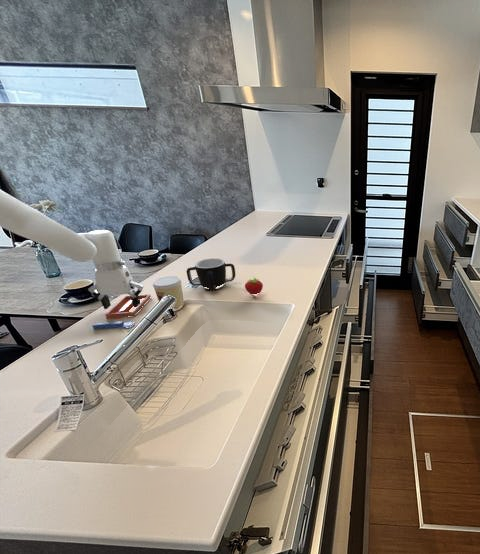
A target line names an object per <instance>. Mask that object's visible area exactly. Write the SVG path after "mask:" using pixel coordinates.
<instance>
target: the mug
mask: <svg viewBox="0 0 480 554" xmlns="http://www.w3.org/2000/svg"><path fill="white" fill-rule="evenodd" d="M228 267H230V268H231V277H230V278H227V269H226V268H228ZM191 271H195V273H196V276H197V278H198V281H197V282H196V281H195V280H193V278H192V274H191V273H192V272H191ZM186 276H187V280H188V282H189V283H190V284H191V285H192V286H196V287H197V286H201V287H202V286H203V287H207V288H209V289H210V290H209V291H215V290H214V289H215V288H216V287H217V286H220V285H222V284H224V283H225V284H226V283H229V281H230V282H233V281H234V280H235V278H236V267H235V265H234V264H233V263H226V261H225V260H224V259H222V258H205V259H202V260H199V261H197V262H195V264H194V266H192V267H188V268H187V269H186ZM203 287H202V288H203Z"/></svg>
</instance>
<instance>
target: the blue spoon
mask: <svg viewBox="0 0 480 554" xmlns="http://www.w3.org/2000/svg"><path fill="white" fill-rule="evenodd" d="M133 324H135V321H126V322H124V321H123V320H122V321H121V320H119V321H107V322H94V323H93V324H92V325H91V326H92V329H93V330H95V331H97V330H108V329H119V328H118V327H122V329H123V328H126V327H130V326H132V325H133Z"/></svg>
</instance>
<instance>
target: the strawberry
mask: <svg viewBox="0 0 480 554" xmlns="http://www.w3.org/2000/svg"><path fill="white" fill-rule="evenodd" d="M244 288H245V291H246V292H247V293H248V294H249V295H251V294H257V293H259V294H260V293H261V292H262V290H263V288H264V285H263V282H262V281H261V280H259V279H258V278H257V277H253V279H248V280H247V281H246V282H245V284H244Z"/></svg>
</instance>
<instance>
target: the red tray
mask: <svg viewBox="0 0 480 554" xmlns="http://www.w3.org/2000/svg"><path fill="white" fill-rule="evenodd" d="M138 296H139V299H142V298H145V299H144V300H143V301H142V302H141V303H140V304H139V305H138V306H137V308H136V309H135V310H134V311H133V312H129V311H128V312H124V313H119V310H120V309H121V308H122V307H123V306H124V305H126V304H127V303H128V302H129V301H130V300H132V299H131V298H132V296H130V295H125V296H123V297H122V298H121V299H120V300H119V301H117V303H115V305H114V306H112V308H110V309H109V310H108V311H107V312H106V313H105V314H104V316H105V318H106V319H107V320H113V319H122V318H121V317H127V318H129V317H128V316H135V314H136V313H137V312H138V311H139V310H140V309H141V308H142V306H144V304H145V303H146V302H147V301H148V300H149V299H150V297H151V298H152V296H151V294H139V295H138ZM150 300H151V299H150ZM144 307H145V306H144ZM142 310H143V308H142V309H141V311H142ZM135 317H136V316H135ZM127 318H126V319H127Z"/></svg>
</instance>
